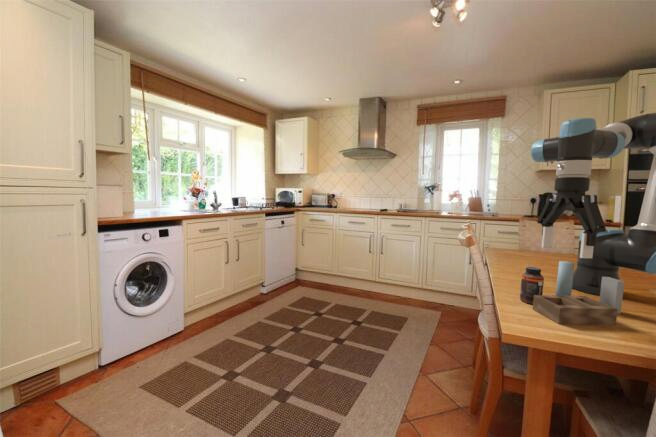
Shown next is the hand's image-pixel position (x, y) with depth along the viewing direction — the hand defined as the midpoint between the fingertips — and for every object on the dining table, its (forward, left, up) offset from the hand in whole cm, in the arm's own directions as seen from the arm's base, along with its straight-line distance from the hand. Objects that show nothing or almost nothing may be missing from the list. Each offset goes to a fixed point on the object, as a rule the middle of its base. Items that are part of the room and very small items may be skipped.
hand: (564, 252), depth 84 cm
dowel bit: (-12, -13, -19) cm, 26 cm away
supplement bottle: (0, -12, -19) cm, 22 cm away
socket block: (-4, 0, -19) cm, 19 cm away
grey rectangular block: (-20, -5, -19) cm, 28 cm away
